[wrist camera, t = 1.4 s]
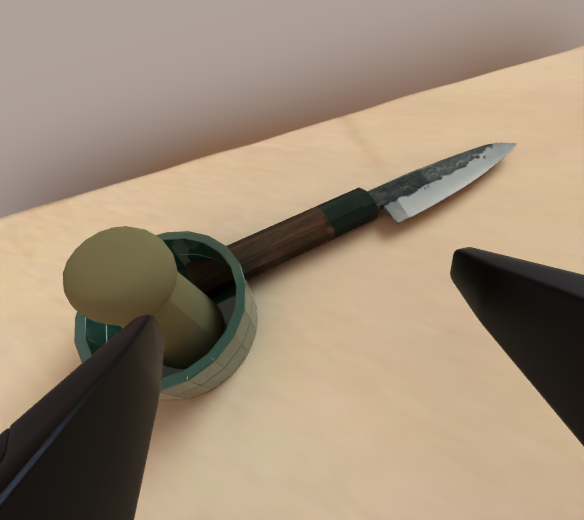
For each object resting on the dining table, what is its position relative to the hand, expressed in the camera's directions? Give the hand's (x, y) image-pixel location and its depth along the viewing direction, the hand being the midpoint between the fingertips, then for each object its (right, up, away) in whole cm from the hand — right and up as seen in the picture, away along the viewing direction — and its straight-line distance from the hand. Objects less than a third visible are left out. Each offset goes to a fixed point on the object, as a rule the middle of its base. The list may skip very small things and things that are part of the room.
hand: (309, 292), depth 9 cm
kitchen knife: (+7, +5, +20) cm, 22 cm away
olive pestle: (-9, -5, +15) cm, 18 cm away
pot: (-9, -4, +15) cm, 18 cm away
